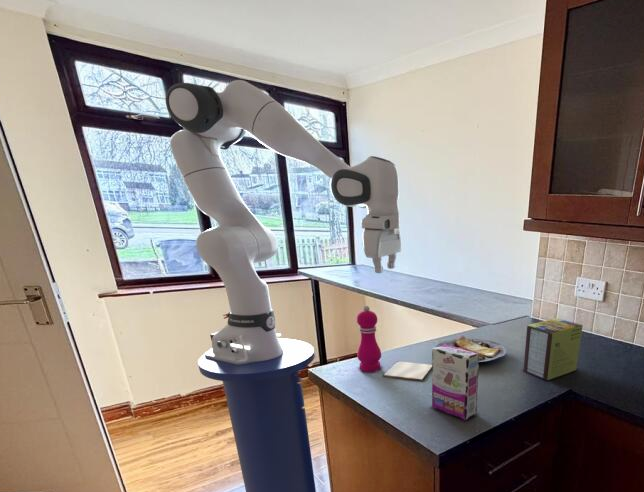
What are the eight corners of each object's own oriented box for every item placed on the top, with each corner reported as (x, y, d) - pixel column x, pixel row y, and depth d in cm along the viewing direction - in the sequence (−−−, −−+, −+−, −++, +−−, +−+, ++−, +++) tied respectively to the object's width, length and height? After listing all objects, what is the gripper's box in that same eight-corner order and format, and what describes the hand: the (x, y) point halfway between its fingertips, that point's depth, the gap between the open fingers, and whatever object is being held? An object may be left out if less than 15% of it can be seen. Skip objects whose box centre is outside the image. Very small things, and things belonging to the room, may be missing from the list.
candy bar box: (477, 413, 103) (480, 353, 97) (465, 421, 99) (468, 358, 93) (443, 401, 109) (444, 343, 102) (431, 407, 105) (431, 347, 99)
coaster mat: (383, 376, 122) (383, 374, 122) (397, 362, 133) (397, 361, 133) (422, 380, 120) (422, 379, 120) (433, 366, 131) (433, 364, 131)
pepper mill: (370, 362, 132) (366, 301, 125) (386, 367, 129) (383, 305, 121) (353, 369, 126) (348, 306, 119) (370, 374, 123) (366, 310, 115)
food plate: (421, 353, 142) (421, 343, 141) (467, 339, 159) (467, 331, 157) (473, 373, 127) (473, 363, 126) (518, 356, 143) (519, 347, 142)
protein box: (577, 370, 134) (583, 324, 128) (547, 381, 124) (552, 332, 118) (552, 360, 141) (557, 317, 135) (522, 370, 131) (526, 324, 125)
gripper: (386, 219, 125) (388, 265, 130) (357, 221, 106) (360, 274, 111) (406, 221, 124) (406, 266, 129) (380, 223, 105) (382, 276, 110)
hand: (385, 270), depth 120 cm, fingers open, 8 cm apart
